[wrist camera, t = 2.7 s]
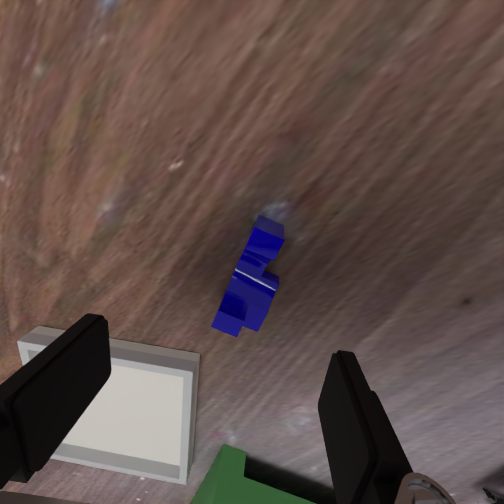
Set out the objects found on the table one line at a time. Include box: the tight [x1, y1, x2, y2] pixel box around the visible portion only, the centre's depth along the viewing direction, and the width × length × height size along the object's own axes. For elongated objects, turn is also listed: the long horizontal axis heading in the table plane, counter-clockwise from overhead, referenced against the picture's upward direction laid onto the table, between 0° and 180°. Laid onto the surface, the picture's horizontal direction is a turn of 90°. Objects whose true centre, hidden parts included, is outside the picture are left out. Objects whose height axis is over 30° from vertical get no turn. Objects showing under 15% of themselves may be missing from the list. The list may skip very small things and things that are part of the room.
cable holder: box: [211, 215, 284, 337], centre depth 19 cm, size 8×4×4 cm, turn 157°
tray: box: [17, 326, 200, 485], centre depth 26 cm, size 16×16×2 cm
